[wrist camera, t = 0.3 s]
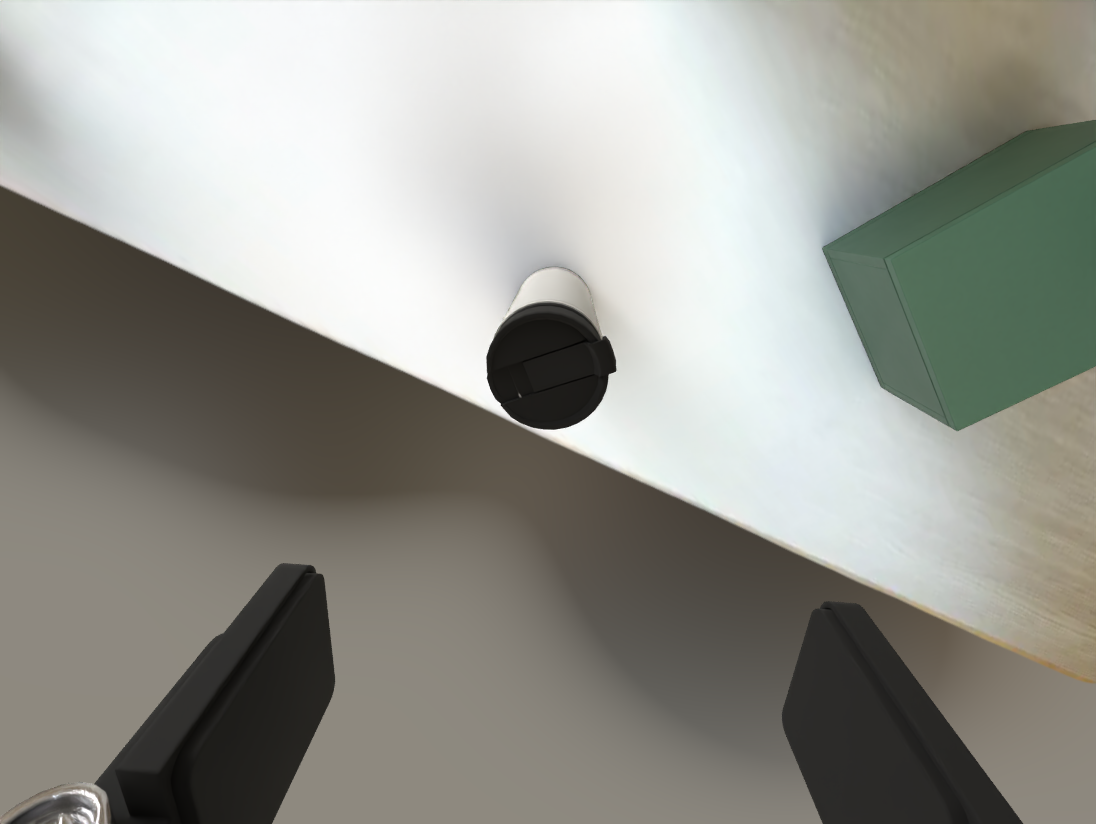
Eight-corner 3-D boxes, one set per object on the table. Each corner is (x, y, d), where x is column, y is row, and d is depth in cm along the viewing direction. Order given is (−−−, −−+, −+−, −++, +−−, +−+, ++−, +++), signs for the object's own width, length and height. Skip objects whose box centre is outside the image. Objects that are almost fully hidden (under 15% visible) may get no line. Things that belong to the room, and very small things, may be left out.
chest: (1026, 130, 39) (1149, 110, 31) (1072, 291, 43) (1191, 312, 35) (821, 248, 42) (883, 258, 34) (881, 387, 46) (949, 427, 38)
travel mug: (605, 326, 45) (633, 412, 26) (532, 351, 46) (508, 451, 27) (581, 253, 43) (594, 291, 24) (505, 281, 44) (461, 338, 25)
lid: (1166, 102, 31) (1290, 81, 25) (1206, 306, 35) (1320, 324, 29) (883, 258, 34) (941, 268, 29) (949, 427, 38) (1010, 462, 33)
